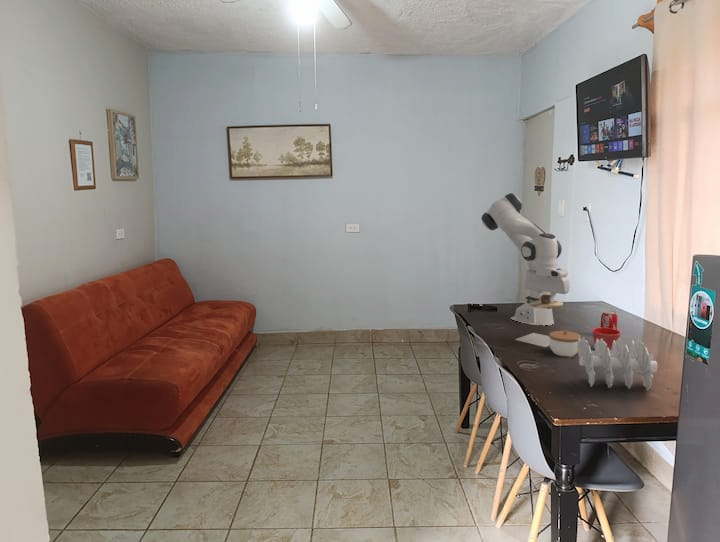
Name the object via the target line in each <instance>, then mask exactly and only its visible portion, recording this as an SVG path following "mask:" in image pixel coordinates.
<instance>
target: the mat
mask: <svg viewBox="0 0 720 542" xmlns="http://www.w3.org/2000/svg"><path fill="white" fill-rule="evenodd" d="M549 338H550V337H549V335H545V334H540V333H537V332H532V333H529V334H526V335H523V336H521V337H517V338H515V339H514V340H515V341H518V342H522V343H523V342H524V343H527V344H531V345H534V346H538V347H543V348H547V347H550V342H549Z"/></svg>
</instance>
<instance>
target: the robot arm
mask: <svg viewBox="0 0 720 542" xmlns="http://www.w3.org/2000/svg"><path fill="white" fill-rule="evenodd" d="M522 207H523V204H522V200H521V199H520V198H519V196H518V195H516V194H514V193H512V192H511V193H507V194H506V195H505V196H504V197H502V198H500V199H499V200H496V201H494V202H493V203H492V204H491V205H490V207H489V208H488V210H486V212H484V213H483V214H482V215H481V222H482V224H483V227H485V228H486V229H488V230H490V231H496V230H497V229H498V228H499V229H500V230H502V231H503V232H504V233H505V235H506V236H507V237H508V239H510V241H511V242H512V243H513V245H514V246H515V247H516V248H517V250H519V251H521V253H520V254H521V256H522V258H523V259H524V260H525V261H526V263H527V269H528V270H526V272H525V280H524V281H525V283H524V286H525V289H526V290H529V295H528V296H526V297H525V298H524V299H525V300H526V302H525V303H523V304H521V305H520V306H518V307H517V308H516V311H515V314H514V316H511V317H510V320H511V319H512V320H515V321H518V322H517V323H519V322H521V323H520V324H528V325H534V326H539V325H543V327H544V326H545V325H548V326H553V325H554V324H555V321H554V320H555V319H554V316H553V308H537V307H533V306H530V302H531V301H535V300H540V301H541V295H544V294H547V295H551V297H550V298H548V302H553V300H554V298H555V296H556V295H557V294H561V295H566V294H568V293H569V292H570V288H571V287H570V279H569V277H568V275H569V271H568V270H567V269H565V268H562V267H560V266H558V260H557V259H558V258H559V257H560V256H561V254H562V250H563V248H562V245H561V243H560V241H559V240H558V239H557V237H556V236H555V235H554V234H552V233H546V232H545V231H544V230H543V229H542V228H540V227H539V226H538V225H537V224H535V222H532V221H531V220H529V219H527V218H526V217H524V216H523V215H522V214H521V210H522ZM512 320H511V321H512ZM515 321H514V322H515ZM552 324H553V325H552ZM545 327H546V326H545Z"/></svg>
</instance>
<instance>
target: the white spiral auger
mask: <svg viewBox="0 0 720 542" xmlns="http://www.w3.org/2000/svg"><path fill="white" fill-rule="evenodd" d="M611 349H612V350H609V348H607V344H606V343H605V342H604V341H603V338H601V339H600V340H599V341H598V339H596V343H595V345H594V350H593V349H591V345H589V342H588V340H587V339H585V336H582V337H581V340H580V338H579V339H578V343H577V350H578V352H577V354H578V363H579V364H578V365H579V366H580V367H585V373H586V374H587V375H588V384H589V385H590V388H592V387H593V386H594V385H595V379H596V372H595V368H603V375H605V381H606V382H605V384H606V385H607V389H610V388H612V387H613V382H614V379H615V378H614V377H615V376H614V374H613V370H614V369H615V370H622V371H623V378H624V379H623V380H625V381H624V382H625V383H624V384H625V387H627V389H631V387H632V385H633V384H634V382H633V381H634V376H635V372H634V371H636V372H641V380H642V381H643V383H642V385H643V386H642V387H645V388H646V389H645V390H646V391H649V390H650V388H651V387H652V384H653V381H654V376H653V373H657V371H658V362H657V360H655V356H654V355H655V353H651V352H650V353H649V350H648V348H647V346H645V343H644V342H642V341H640V338H637V339H636V340H635V341H634V340H633V339H632V340H631V343H630V346H629V348H628V345H627V344H626V341H624V340H622V339H621V337H620V338H618V339H617V341H616V342H615V340H613V344H612V348H611Z"/></svg>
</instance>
